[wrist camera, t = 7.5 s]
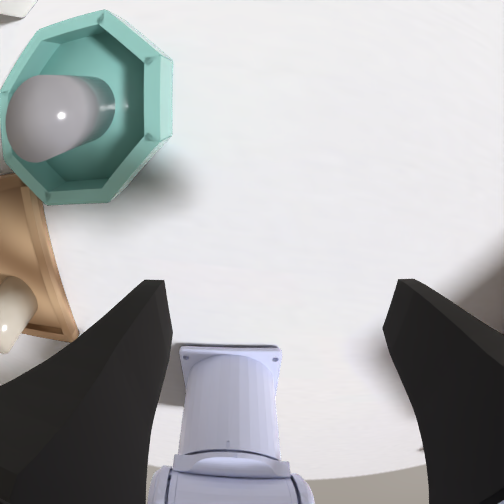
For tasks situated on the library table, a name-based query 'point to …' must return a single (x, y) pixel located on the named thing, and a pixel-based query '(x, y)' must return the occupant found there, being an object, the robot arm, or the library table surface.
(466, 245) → the library table surface
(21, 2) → the milk carton
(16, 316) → the pebble light
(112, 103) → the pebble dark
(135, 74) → the dish
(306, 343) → the library table surface
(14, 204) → the tray
